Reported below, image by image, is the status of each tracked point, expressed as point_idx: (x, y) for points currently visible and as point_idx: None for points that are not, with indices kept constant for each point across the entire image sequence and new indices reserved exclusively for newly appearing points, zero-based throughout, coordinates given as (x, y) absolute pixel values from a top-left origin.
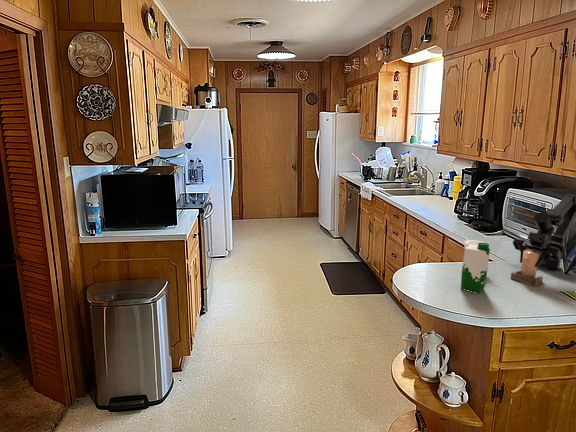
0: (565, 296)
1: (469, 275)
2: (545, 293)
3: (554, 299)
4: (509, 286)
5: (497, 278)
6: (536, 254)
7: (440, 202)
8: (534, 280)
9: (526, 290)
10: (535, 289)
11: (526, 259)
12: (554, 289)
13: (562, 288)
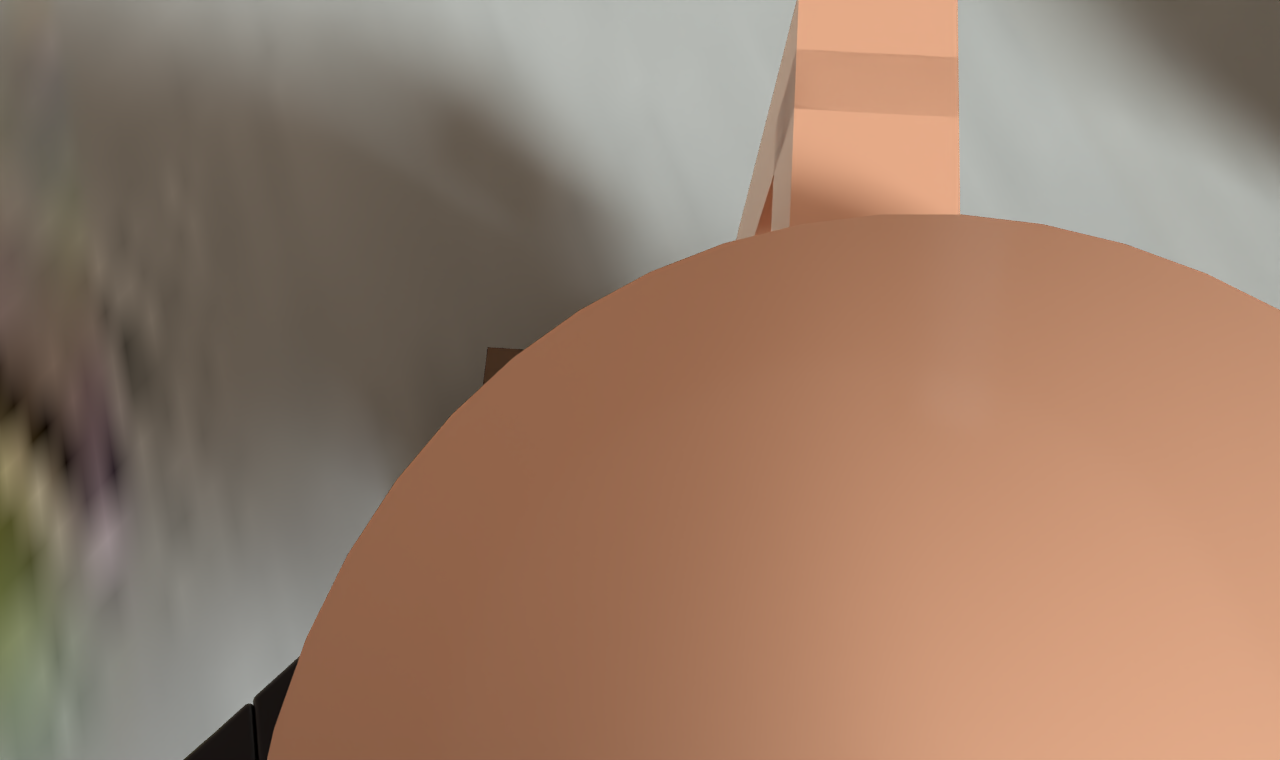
0: (9, 298)
1: None
2: (279, 177)
3: (125, 48)
4: (783, 25)
5: (1101, 218)
6: (377, 514)
7: None
8: (500, 349)
9: (533, 70)
10: (445, 222)
11: (782, 73)
12: (204, 485)
13: (100, 666)
